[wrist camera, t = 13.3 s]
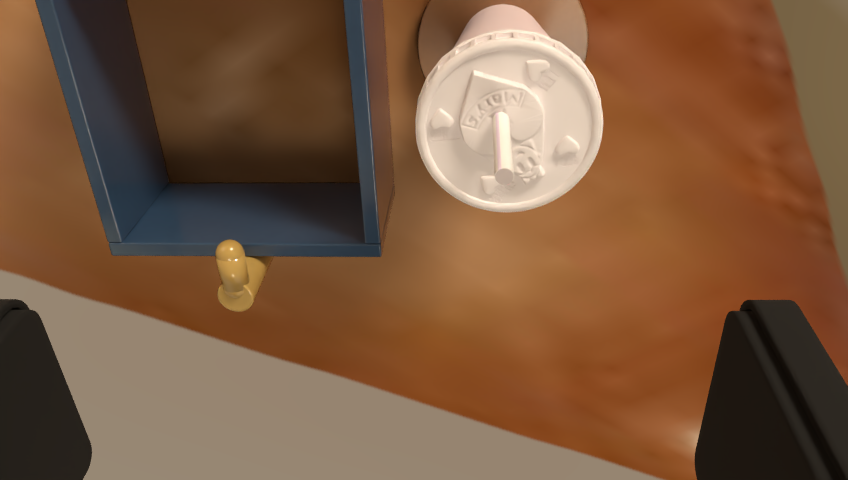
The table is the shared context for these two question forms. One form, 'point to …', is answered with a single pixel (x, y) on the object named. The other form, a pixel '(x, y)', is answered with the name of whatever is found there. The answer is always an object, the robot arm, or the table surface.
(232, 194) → the drawer
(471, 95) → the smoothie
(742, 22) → the table surface
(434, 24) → the coaster
